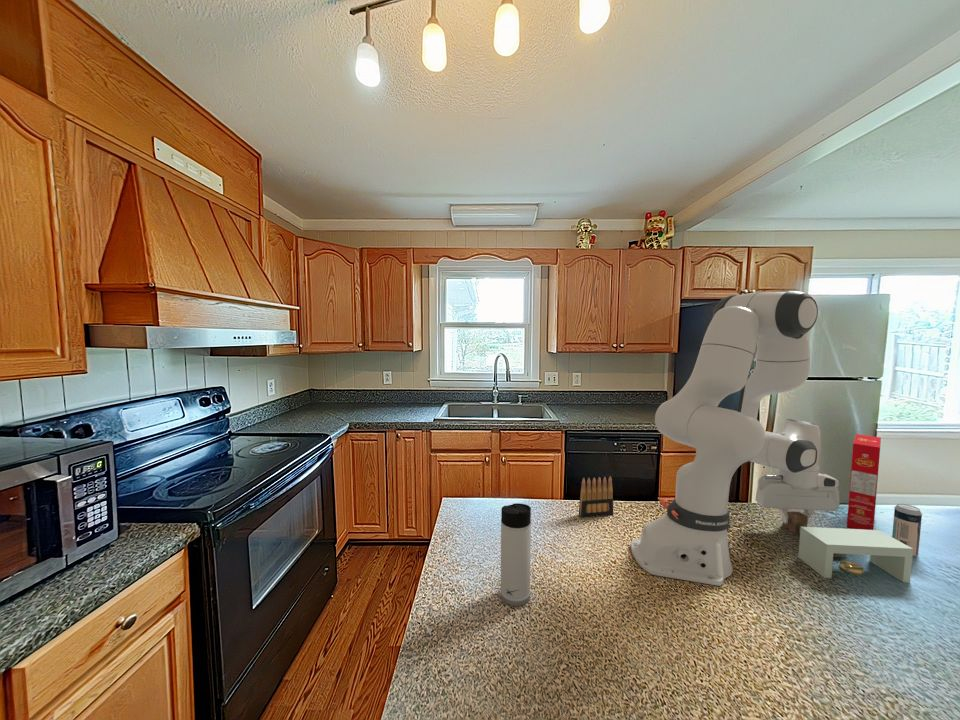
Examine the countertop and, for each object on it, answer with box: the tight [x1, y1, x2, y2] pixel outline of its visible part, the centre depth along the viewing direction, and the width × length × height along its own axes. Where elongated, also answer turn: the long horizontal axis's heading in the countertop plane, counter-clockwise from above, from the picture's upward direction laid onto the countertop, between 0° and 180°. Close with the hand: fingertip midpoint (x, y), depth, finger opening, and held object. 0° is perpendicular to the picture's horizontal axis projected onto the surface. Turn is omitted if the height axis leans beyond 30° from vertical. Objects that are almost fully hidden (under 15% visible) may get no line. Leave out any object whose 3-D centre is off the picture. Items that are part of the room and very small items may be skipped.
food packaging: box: [846, 433, 882, 530], centre depth 112 cm, size 15×5×25 cm, turn 133°
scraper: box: [782, 509, 848, 559], centre depth 103 cm, size 6×16×5 cm, turn 175°
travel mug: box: [500, 502, 532, 607], centre depth 80 cm, size 6×7×20 cm
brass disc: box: [839, 560, 864, 576], centre depth 90 cm, size 4×4×1 cm
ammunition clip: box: [578, 475, 614, 518], centre depth 116 cm, size 11×2×12 cm, turn 100°
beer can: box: [891, 503, 923, 557], centre depth 97 cm, size 5×5×12 cm
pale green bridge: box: [798, 526, 914, 584], centre depth 90 cm, size 18×8×8 cm, turn 85°
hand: (794, 522), depth 108 cm, fingers closed on scraper, 3 cm apart
